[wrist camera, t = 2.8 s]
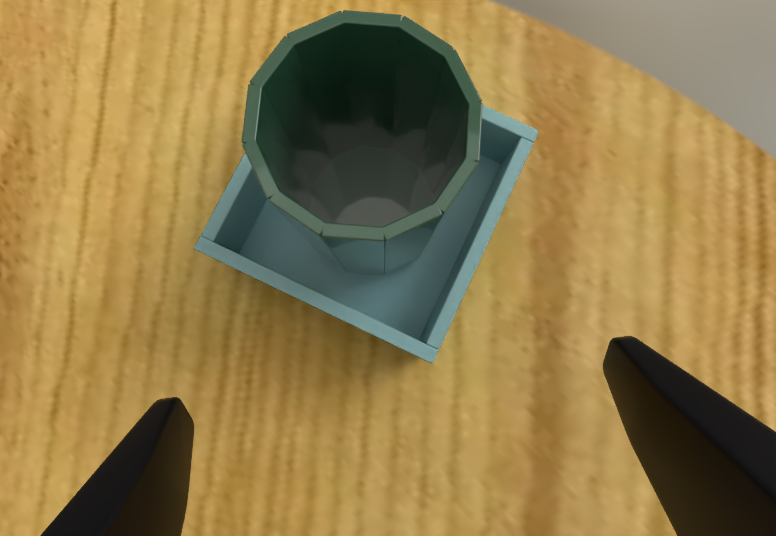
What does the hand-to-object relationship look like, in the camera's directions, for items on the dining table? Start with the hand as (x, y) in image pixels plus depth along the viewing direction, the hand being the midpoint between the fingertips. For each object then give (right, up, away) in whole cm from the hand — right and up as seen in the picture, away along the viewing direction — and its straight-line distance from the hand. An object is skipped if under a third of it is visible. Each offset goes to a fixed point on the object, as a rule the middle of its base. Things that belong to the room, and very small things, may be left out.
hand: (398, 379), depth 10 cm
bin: (-1, +5, +14) cm, 15 cm away
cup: (-1, +5, +13) cm, 14 cm away
